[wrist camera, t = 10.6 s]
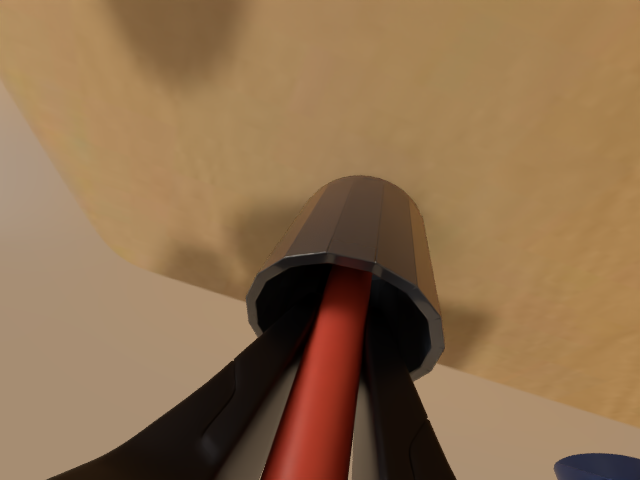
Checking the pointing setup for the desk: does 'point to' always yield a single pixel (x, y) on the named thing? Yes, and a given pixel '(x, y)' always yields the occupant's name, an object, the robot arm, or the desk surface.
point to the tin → (358, 263)
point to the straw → (325, 386)
